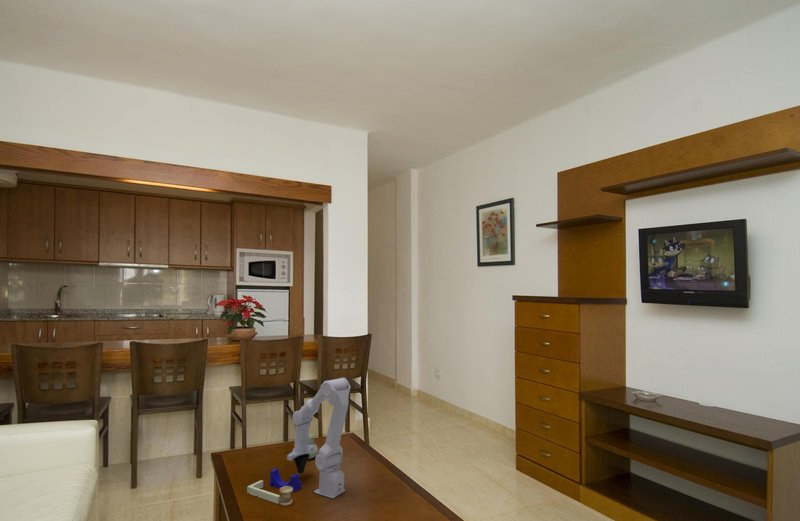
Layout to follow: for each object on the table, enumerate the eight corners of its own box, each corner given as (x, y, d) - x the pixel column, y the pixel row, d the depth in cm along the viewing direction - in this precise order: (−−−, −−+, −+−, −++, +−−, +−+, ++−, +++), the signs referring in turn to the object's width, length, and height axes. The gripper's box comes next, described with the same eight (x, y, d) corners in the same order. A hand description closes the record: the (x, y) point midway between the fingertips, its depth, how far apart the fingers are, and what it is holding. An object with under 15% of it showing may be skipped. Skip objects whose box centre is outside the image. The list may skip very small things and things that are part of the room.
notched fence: (291, 496, 175) (291, 489, 175) (277, 504, 169) (278, 497, 169) (260, 486, 183) (261, 480, 184) (247, 493, 177) (247, 486, 177)
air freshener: (295, 454, 218) (295, 433, 219) (312, 451, 222) (312, 430, 223) (301, 462, 209) (302, 440, 209) (319, 459, 213) (319, 437, 213)
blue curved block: (300, 488, 183) (301, 473, 183) (293, 493, 179) (293, 477, 179) (277, 482, 188) (278, 467, 189) (269, 486, 184) (270, 471, 185)
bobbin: (295, 501, 171) (295, 487, 172) (286, 506, 167) (286, 492, 167) (285, 498, 174) (286, 484, 174) (276, 503, 170) (276, 489, 170)
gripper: (306, 432, 200) (305, 464, 200) (282, 442, 188) (280, 476, 187) (318, 435, 197) (317, 468, 196) (295, 445, 184) (293, 480, 184)
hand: (300, 472), depth 191 cm, fingers closed
